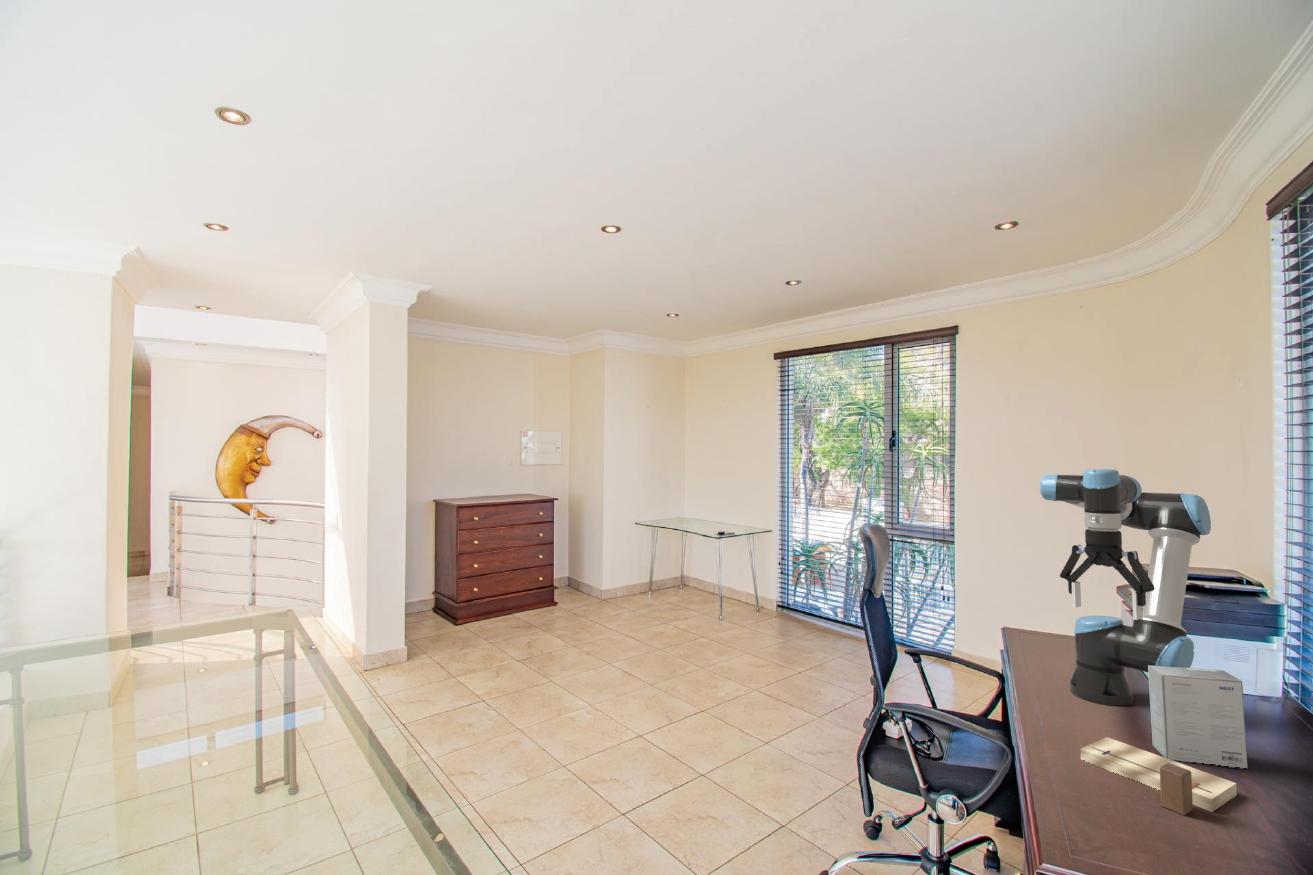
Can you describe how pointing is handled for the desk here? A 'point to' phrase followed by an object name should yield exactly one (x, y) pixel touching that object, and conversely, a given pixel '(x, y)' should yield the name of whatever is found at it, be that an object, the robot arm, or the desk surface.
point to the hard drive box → (1197, 715)
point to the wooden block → (1176, 788)
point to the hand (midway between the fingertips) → (1106, 612)
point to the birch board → (1156, 771)
